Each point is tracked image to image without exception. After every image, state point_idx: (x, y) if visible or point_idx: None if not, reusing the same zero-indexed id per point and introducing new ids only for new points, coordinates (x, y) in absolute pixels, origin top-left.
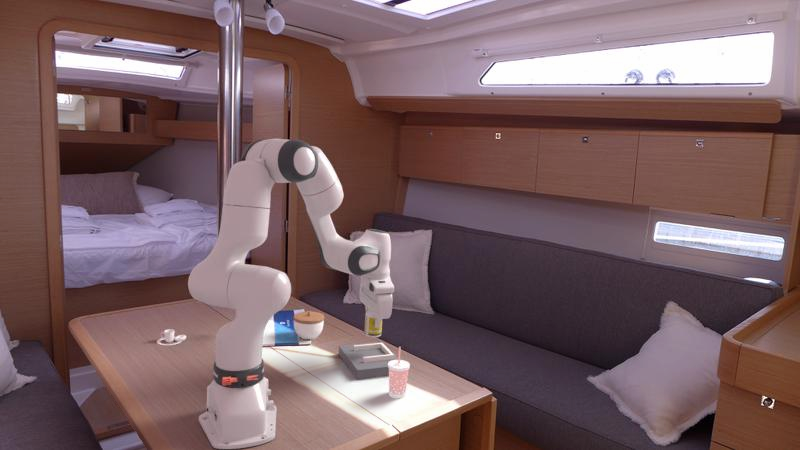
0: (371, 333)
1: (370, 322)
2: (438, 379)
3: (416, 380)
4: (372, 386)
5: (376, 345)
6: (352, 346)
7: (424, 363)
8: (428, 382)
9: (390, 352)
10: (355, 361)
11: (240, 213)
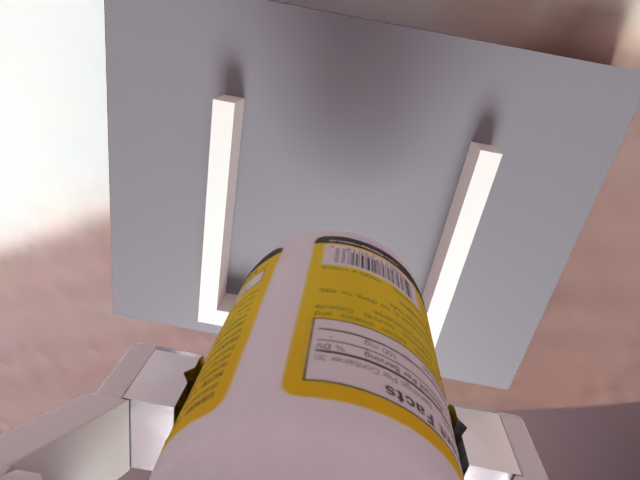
0: (248, 278)
1: (224, 355)
2: (45, 380)
3: (54, 295)
4: (23, 32)
5: None
6: (559, 173)
7: None
8: (22, 329)
9: None
10: (269, 41)
11: None
